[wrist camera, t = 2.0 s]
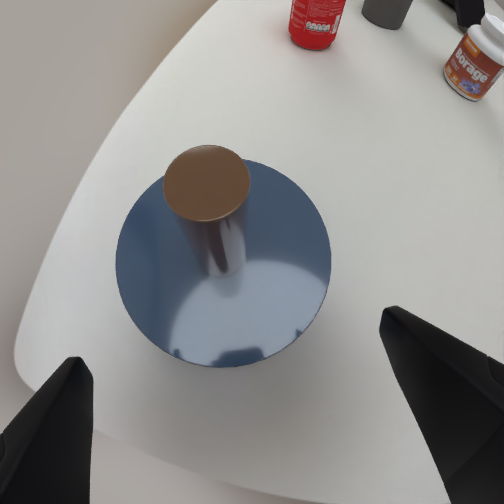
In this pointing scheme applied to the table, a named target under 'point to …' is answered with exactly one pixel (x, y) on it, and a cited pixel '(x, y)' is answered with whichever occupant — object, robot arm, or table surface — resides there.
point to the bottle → (386, 12)
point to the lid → (222, 260)
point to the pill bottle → (477, 59)
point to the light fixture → (468, 11)
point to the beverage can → (315, 22)
